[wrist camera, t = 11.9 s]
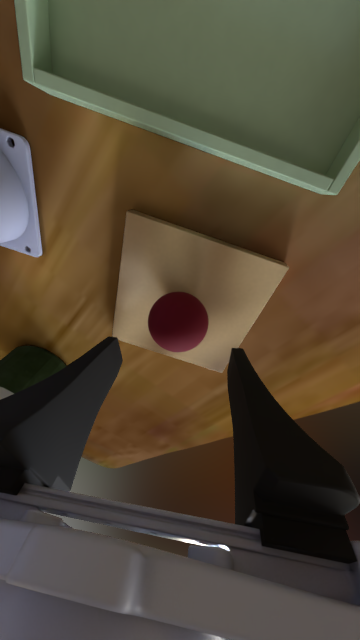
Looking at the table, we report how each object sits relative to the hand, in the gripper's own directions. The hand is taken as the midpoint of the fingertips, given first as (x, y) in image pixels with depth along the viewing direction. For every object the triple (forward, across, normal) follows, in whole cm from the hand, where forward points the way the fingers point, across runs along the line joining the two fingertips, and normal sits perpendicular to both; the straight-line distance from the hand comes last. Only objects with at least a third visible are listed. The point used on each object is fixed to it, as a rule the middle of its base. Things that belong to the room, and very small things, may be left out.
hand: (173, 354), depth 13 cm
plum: (+3, 0, 0) cm, 3 cm away
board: (+7, 0, 0) cm, 7 cm away
